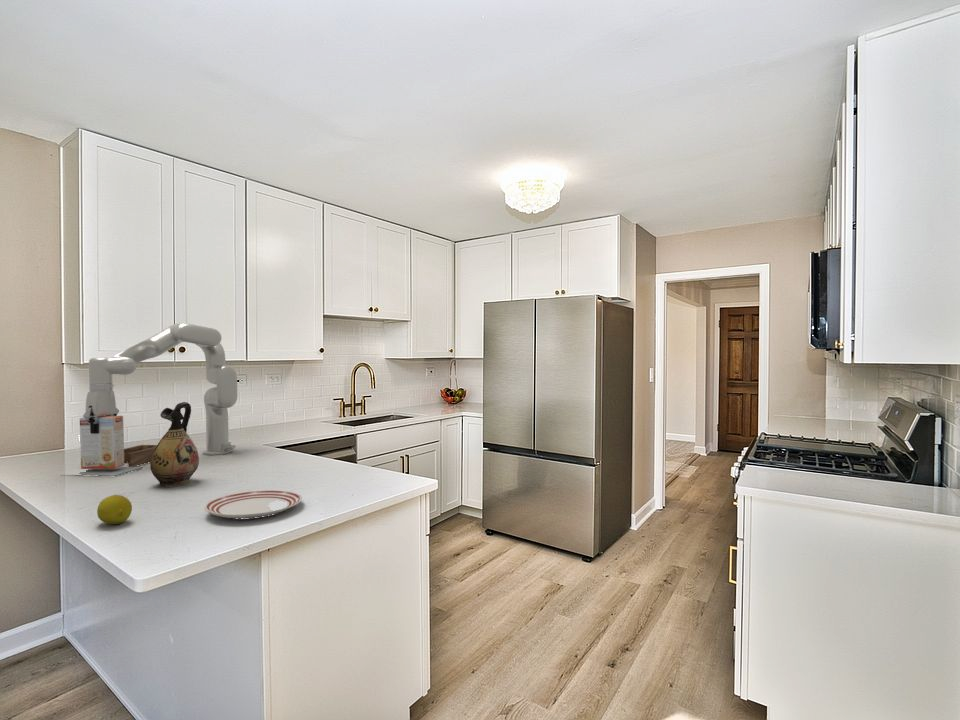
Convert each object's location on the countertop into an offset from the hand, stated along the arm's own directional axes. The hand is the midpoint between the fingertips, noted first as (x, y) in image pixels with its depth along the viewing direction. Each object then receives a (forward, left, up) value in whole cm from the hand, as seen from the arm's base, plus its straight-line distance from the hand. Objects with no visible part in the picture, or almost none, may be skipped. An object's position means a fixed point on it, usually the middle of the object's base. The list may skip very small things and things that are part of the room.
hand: (102, 431), depth 204 cm
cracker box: (0, 0, -15) cm, 15 cm away
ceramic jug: (-43, +12, -17) cm, 48 cm away
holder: (0, -17, -16) cm, 24 cm away
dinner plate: (-90, +38, -17) cm, 99 cm away
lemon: (-57, +54, -17) cm, 80 cm away
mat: (0, 0, -16) cm, 16 cm away
